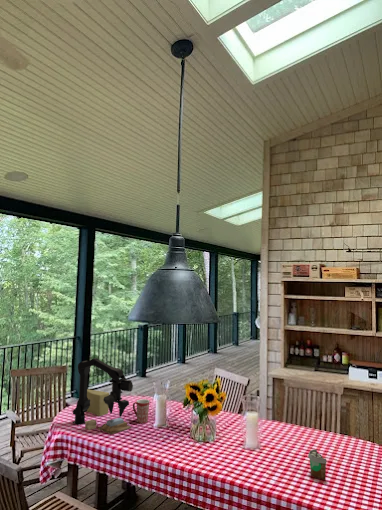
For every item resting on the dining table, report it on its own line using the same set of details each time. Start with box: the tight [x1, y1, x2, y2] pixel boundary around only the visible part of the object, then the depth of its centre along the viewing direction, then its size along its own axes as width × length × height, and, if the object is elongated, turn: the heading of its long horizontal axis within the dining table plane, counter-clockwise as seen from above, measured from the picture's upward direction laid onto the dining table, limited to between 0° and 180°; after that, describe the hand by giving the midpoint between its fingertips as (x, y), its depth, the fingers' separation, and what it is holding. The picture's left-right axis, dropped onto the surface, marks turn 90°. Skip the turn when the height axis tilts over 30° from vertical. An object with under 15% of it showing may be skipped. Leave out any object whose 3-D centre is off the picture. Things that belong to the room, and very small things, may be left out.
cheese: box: [86, 388, 110, 417], centre depth 285 cm, size 22×10×15 cm, turn 58°
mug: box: [132, 398, 151, 424], centre depth 268 cm, size 13×9×14 cm
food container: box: [307, 448, 327, 481], centre depth 194 cm, size 12×6×10 cm, turn 5°
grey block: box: [106, 417, 125, 427], centre depth 253 cm, size 4×10×5 cm, turn 137°
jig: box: [97, 421, 132, 435], centre depth 252 cm, size 14×16×3 cm
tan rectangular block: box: [84, 419, 97, 431], centre depth 252 cm, size 4×6×4 cm
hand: (115, 415), depth 253 cm, fingers open, 9 cm apart
